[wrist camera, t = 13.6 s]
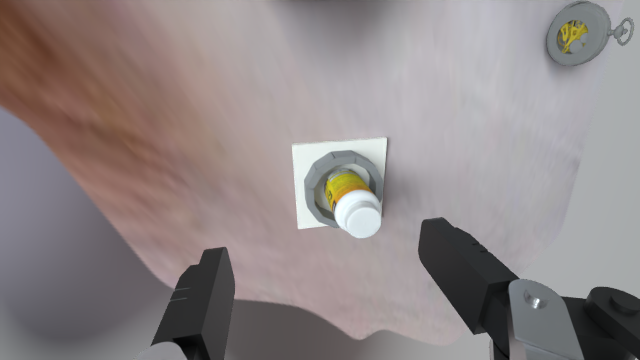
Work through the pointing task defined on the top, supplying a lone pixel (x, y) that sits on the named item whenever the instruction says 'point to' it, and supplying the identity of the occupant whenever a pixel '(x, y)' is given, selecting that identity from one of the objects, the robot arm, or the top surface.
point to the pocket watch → (582, 33)
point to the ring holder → (327, 157)
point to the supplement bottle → (352, 203)
